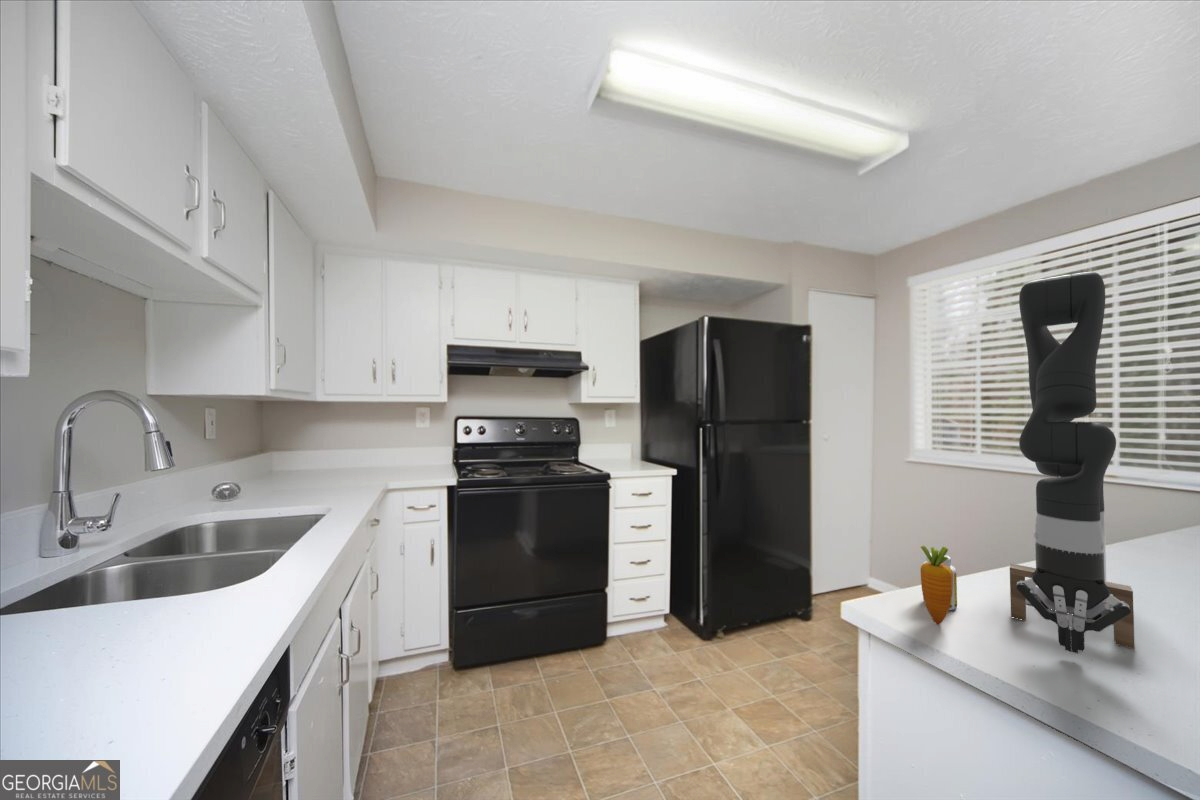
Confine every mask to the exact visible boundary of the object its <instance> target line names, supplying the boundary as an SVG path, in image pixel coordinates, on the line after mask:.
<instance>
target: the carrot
mask: <svg viewBox="0 0 1200 800" xmlns="http://www.w3.org/2000/svg"><path fill="white" fill-rule="evenodd" d="M920 548H921V550H922V551H923V553H924V554H925V556H926V558H927V557H928V559H929V561H930V562H926V561H925V562H926V563H924V562H923V563H924V564H923V563H922V564H923V565H921V566H920V581H921V583H920V584H921V592H922V597H924V599H923V602H924V604H925V607H926V610H927V612H928V614H929V615H930V617H931V620H932V621H933V623H935V624H936V625H941V624H942V623H943V622H944V620H945V619H946V616H947V615H948V612H949V611H950V610H949V607H950V603H951V598H952V589H953V572H952V570H951V569H950V568H949V567H947V566H945V565H943V564H941V563H943V562H944V561H946V560H947V559H948V557H944V556H945V555H946V554H947V553H948V551H949V549H948V548H947V546H945V545H943V546H942V547H941V549H940V550H939V549H935V547H930V551H929V549H928V548H927V547H926V546H925V545H921V546H920ZM930 553H932V557H931V555H930ZM938 553H939V554H938Z"/></svg>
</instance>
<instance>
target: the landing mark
mask: <svg viewBox="0 0 1200 800" xmlns="http://www.w3.org/2000/svg"><path fill="white" fill-rule="evenodd" d="M1035 587H1036V586H1035ZM1036 588H1037V593H1036V594H1037V595H1038V596H1039V597H1040V599H1041V600H1042V601H1043V602H1044V603H1045V604H1046V605H1047V606H1048V607H1049V608H1050V609H1052V611H1053V610H1056V608H1055V603H1054V602H1052V601H1051V600H1049V599H1048V597H1047V596H1046V595H1045V594H1044V593H1043V592H1042V591H1041V589H1040V588H1039V587H1038V586H1037V587H1036ZM1105 603H1106V601H1102V602H1101V603H1099V604H1098V605H1096V606H1095V607H1094V608H1092V609H1089V610H1086V618H1085V619H1087V618H1089V619H1090V618H1092V617H1093V616H1095V615H1097V614H1098V613H1100V612H1102V611H1103V610H1105V609H1106V607H1105ZM1027 604H1030V603H1029V601H1028V600H1027V599H1026V605H1027ZM1029 606H1031V604H1030V605H1029ZM1066 610H1067V613H1069V614H1068V615H1070V614H1073V607H1070V606H1066ZM1112 625H1113V626H1114V623H1113V624H1112Z"/></svg>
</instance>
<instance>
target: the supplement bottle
mask: <svg viewBox="0 0 1200 800" xmlns="http://www.w3.org/2000/svg"><path fill="white" fill-rule="evenodd" d="M929 553H930V555H931V557H932V553H931V552H929ZM938 554H939V553H938ZM944 557H948V559H947V560H946V561H944V562H943V563H941V564H943V565H945V566H947V567H949V568H950V569H951V570H952V572H953V589H952V598H951V603H950V607H949V610H948V611H952V610H956V609H958V586H957V585H958V584H957V582H958V581H957V569H956V568H955V566H953V565H952V558H951V557H950V556H949V555H945V556H944ZM926 562H930V561H929V559H928V557H927V556H926V561H924V562H923V563H922V565H923V564H924V563H926ZM922 565H921V566H922ZM922 597H923V596H922ZM923 600H924V597H923Z"/></svg>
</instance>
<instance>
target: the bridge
mask: <svg viewBox="0 0 1200 800" xmlns="http://www.w3.org/2000/svg"><path fill="white" fill-rule="evenodd" d="M1035 570H1036V567H1032V566H1026V565H1021V564H1016V563H1015V564H1014V563H1010V565H1009V588H1010V589H1009V591H1010V593H1009V594H1010V595H1009V597H1010V618H1011V617H1014V618H1013V619H1015V618H1018V619H1017V620H1019V619H1022V620H1021V621H1023V620H1025V621H1024V622H1026V621H1027V620H1026V619H1027V607H1026V606H1027V604H1026V598H1025V597H1024V596H1023V595H1022V594H1021V593H1020V592H1019V590H1018V589H1017V582H1018V581H1019V580H1022V581H1025V580H1026V578H1027V579H1031V578H1032V574H1033V573H1034V572H1035ZM1106 581H1107V580H1106ZM1106 581H1105V584H1106V586H1107V587H1108V588H1109V591H1110V594H1111V595H1113V596H1114V597H1115V598H1117V599H1118V600H1120V601H1124V602H1126V603H1127V604H1128V605H1129V608H1130V610H1131V613H1130V614H1128V615H1127V616H1125V617H1123V618H1122V619H1120V620H1118V621H1117V622H1115V623H1114V625H1113V639H1114V638H1115V639H1114V642H1116V643H1115V645H1117V644H1118V645H1117V646H1122V647H1125V648H1129V649H1135V622H1134V621H1135V619H1134V618H1135V617H1134V613H1135V612H1134V591H1133V589H1132V587H1131V585H1128V584H1121V583H1116V582H1112V581H1111V582H1110V581H1107V582H1106Z"/></svg>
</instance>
